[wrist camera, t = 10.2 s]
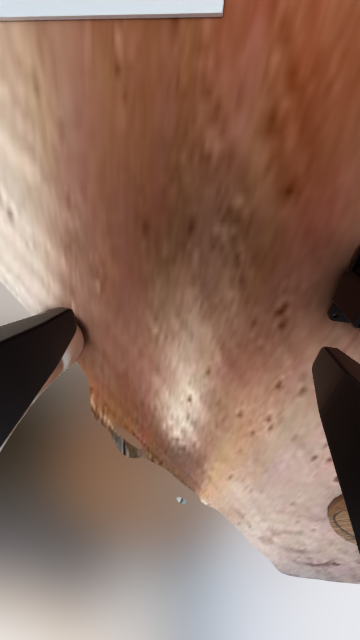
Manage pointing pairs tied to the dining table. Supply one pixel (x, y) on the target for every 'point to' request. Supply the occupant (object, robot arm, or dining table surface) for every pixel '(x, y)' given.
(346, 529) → the trivet
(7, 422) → the robot arm
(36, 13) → the board
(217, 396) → the dining table surface
